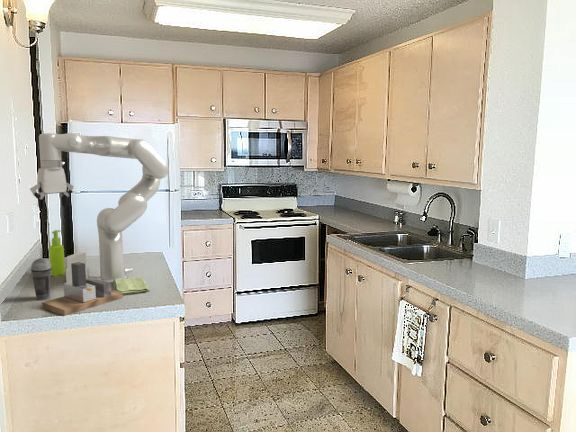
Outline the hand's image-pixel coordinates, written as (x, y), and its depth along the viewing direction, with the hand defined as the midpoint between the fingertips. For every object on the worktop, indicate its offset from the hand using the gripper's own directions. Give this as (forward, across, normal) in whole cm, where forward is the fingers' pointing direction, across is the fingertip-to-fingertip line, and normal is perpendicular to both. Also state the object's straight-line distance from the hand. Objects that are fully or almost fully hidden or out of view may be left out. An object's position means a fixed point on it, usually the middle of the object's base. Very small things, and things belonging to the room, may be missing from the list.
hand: (53, 207), depth 192 cm
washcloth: (+34, -17, +24) cm, 45 cm away
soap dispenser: (+34, -12, -20) cm, 41 cm away
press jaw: (+31, +6, +26) cm, 41 cm away
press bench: (+33, +5, +25) cm, 42 cm away
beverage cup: (+34, +11, +8) cm, 36 cm away
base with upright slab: (+34, -10, -2) cm, 35 cm away
